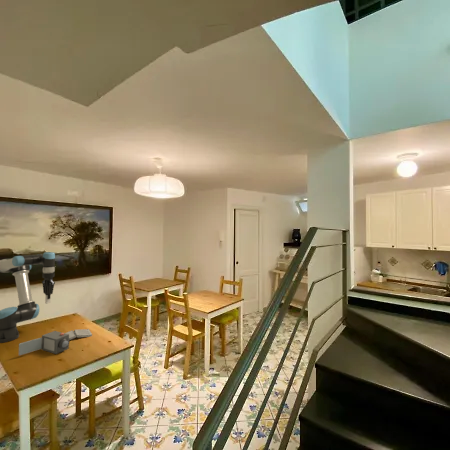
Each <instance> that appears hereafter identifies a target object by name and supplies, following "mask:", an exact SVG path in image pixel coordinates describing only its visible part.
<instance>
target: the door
mask: <svg viewBox="0 0 450 450" xmlns="http://www.w3.org/2000/svg"><path fill="white" fill-rule="evenodd" d="M42 348H43V337H42V336H41V337H38V338H34V339H31V340H28V341H24V342H21V343H18V356H22V355H26V354H29V353H32V352H34V351H35V352H36V351H38V350H42Z"/></svg>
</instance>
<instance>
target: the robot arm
mask: <svg viewBox="0 0 450 450" xmlns="http://www.w3.org/2000/svg"><path fill="white" fill-rule="evenodd" d="M55 262H56V253H55V252H52V251H51V252H49V251H48V252H47V251H45V252H43V254H42V253H39V254H31V255H15V256H13V257H12V258H3V259H0V273H4V274H5V273H11V274H12V276H14V279H15V286H16V291H17V298H18V305H17V306H11V307H10V306H9V307H6V308H3V309H1V310H0V344H1V343H2V344H3V343H8V341H9V342H12V341H15V340H17V339H19V337H20V332H19V331H18V328H17V327H18V326H17V324H18V323H22V322H23V323H24V322H26V321H31V320H33V319H36V318H37V317H38V316H39V314H40V306H39V303H36V301H35V300H33V298H32V291H31V285H30V280H29V273H30V270H32V267H33V265H35V266H36V265H42V269H41V270H42V279H43V280H42V281H41V284H42V290H43V294H44V295H45V300H44V301H45V304H50V303H51V295H53V292H54V287H55V284H56V282H55V281H53V280H54V279H53V278H55V265H56V264H55Z"/></svg>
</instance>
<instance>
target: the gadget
mask: <svg viewBox="0 0 450 450" xmlns="http://www.w3.org/2000/svg"><path fill="white" fill-rule="evenodd" d="M64 333H65V334H69V341H70V340H74V339H75V338H89V337H93V334H92V332H91V330H90V328H86V329H82V328H81V329H73V330H69V331H67V332H64Z"/></svg>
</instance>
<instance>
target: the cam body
mask: <svg viewBox="0 0 450 450" xmlns="http://www.w3.org/2000/svg"><path fill="white" fill-rule="evenodd" d="M65 333H66V332H61V331H57V330H54V331H51V332H47V333H45V334H42V335H41V337H43V348H42V349H41V350H42V351H45V352H48V353H51V354H54V355H57V354H60V353H62V352H64V351H66V350H69V348H70V340H69V334H65Z"/></svg>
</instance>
